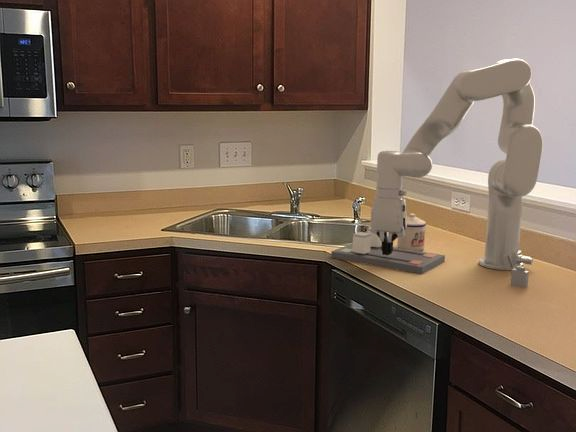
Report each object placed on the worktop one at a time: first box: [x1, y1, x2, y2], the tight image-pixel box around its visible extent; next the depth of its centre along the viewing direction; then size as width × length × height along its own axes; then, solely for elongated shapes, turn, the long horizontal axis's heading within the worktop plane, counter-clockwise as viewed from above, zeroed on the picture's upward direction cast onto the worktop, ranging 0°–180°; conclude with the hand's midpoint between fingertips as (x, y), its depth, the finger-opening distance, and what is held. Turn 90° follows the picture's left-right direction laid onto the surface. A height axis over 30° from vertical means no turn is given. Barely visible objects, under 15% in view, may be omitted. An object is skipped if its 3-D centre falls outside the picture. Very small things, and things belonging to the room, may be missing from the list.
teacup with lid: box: [396, 213, 427, 252], centre depth 215 cm, size 12×9×12 cm
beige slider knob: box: [352, 231, 371, 254], centre depth 199 cm, size 4×4×6 cm
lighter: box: [502, 254, 530, 289], centre depth 176 cm, size 7×2×8 cm, turn 49°
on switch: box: [366, 226, 382, 247], centre depth 208 cm, size 4×4×6 cm
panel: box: [330, 242, 446, 275], centre depth 201 cm, size 30×17×2 cm, turn 55°
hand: (387, 254), depth 195 cm, fingers closed
